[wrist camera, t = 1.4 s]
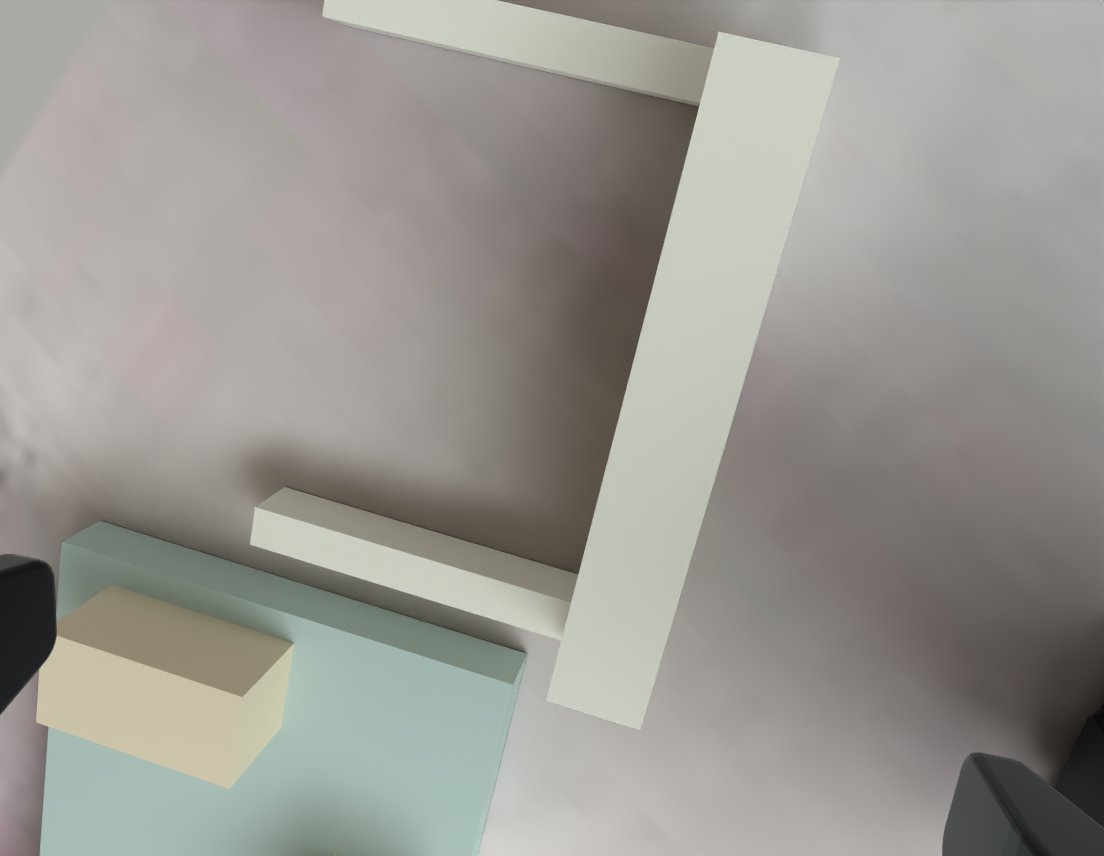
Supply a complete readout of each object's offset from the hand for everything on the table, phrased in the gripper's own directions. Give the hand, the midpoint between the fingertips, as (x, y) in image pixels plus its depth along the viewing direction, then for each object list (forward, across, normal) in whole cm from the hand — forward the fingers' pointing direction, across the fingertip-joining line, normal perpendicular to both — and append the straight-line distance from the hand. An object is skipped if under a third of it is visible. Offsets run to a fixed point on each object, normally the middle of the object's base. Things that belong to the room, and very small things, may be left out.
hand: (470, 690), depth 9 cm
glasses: (+13, +3, -1) cm, 13 cm away
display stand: (+13, +8, +14) cm, 21 cm away
